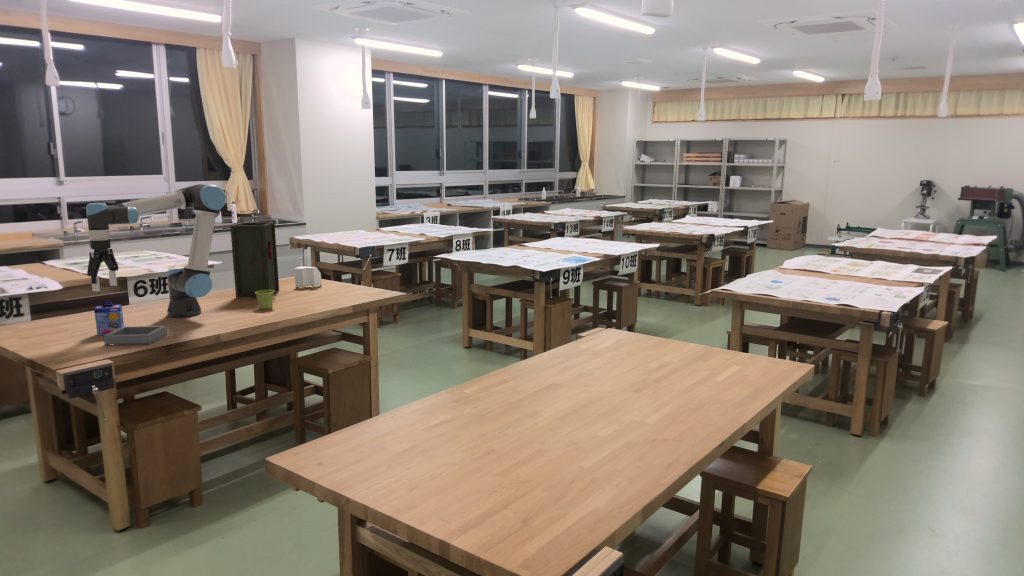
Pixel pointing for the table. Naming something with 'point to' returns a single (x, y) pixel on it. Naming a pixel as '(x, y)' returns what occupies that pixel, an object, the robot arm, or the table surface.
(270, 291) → the plant pot
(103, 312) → the ink cartridge box
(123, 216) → the robot arm
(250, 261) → the first aid box
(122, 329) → the tray
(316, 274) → the white rounded block
